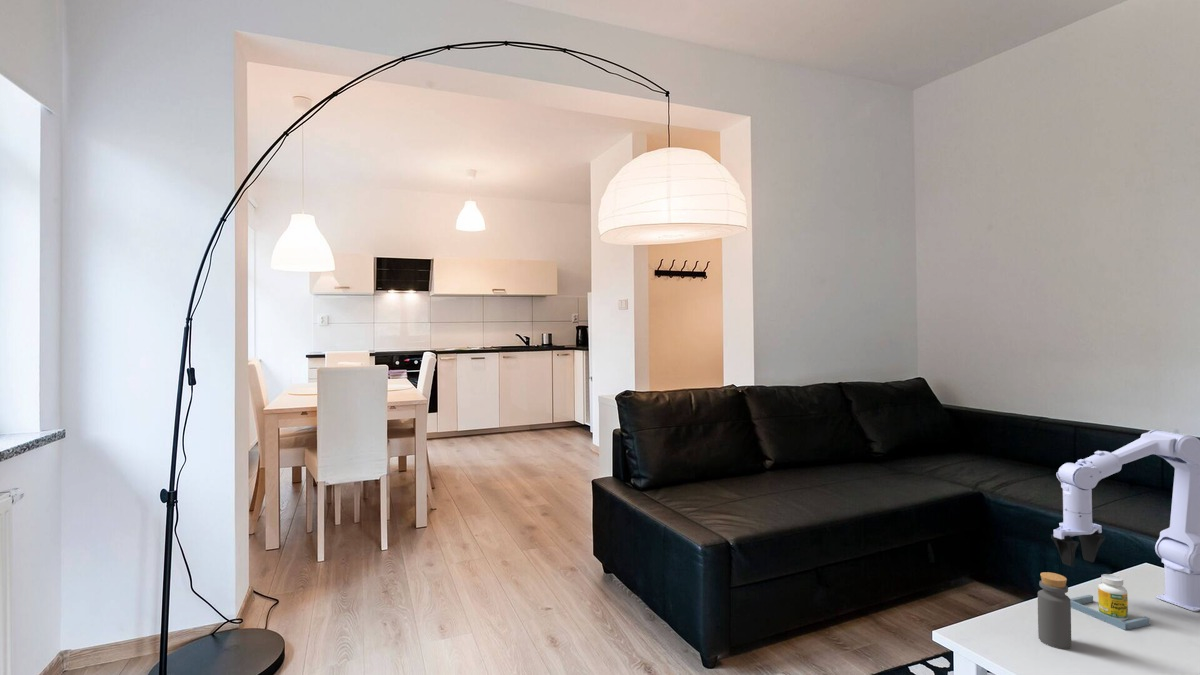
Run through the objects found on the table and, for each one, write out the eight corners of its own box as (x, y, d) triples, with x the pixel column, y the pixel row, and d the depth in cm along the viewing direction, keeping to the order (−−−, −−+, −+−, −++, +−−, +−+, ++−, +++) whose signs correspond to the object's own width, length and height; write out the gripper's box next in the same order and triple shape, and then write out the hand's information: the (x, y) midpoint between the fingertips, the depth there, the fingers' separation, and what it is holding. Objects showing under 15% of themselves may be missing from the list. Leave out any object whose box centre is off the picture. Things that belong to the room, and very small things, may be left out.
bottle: (1059, 635, 129) (1057, 571, 129) (1078, 649, 123) (1076, 582, 123) (1032, 634, 130) (1031, 570, 130) (1050, 648, 124) (1048, 581, 124)
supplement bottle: (1115, 610, 140) (1114, 572, 140) (1134, 621, 135) (1133, 582, 135) (1092, 610, 140) (1092, 572, 140) (1110, 621, 135) (1109, 581, 135)
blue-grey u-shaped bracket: (1089, 600, 146) (1089, 594, 146) (1149, 624, 133) (1149, 618, 133) (1066, 605, 143) (1066, 599, 143) (1125, 630, 131) (1125, 623, 131)
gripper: (1080, 503, 150) (1081, 553, 150) (1040, 508, 146) (1041, 560, 146) (1110, 511, 144) (1111, 563, 144) (1070, 517, 139) (1071, 571, 139)
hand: (1078, 562), depth 144 cm, fingers open, 7 cm apart
